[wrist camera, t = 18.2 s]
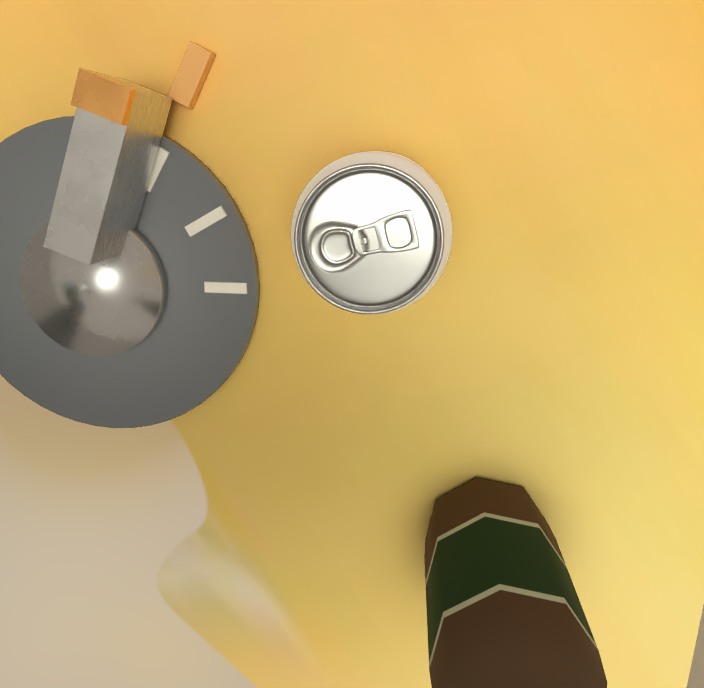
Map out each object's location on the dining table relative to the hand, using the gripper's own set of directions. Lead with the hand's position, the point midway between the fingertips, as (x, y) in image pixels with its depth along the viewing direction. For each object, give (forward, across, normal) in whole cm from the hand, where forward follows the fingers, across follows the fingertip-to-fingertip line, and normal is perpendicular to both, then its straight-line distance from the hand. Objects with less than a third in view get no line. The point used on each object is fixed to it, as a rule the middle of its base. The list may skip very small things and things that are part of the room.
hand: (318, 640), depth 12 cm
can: (+27, 0, +5) cm, 27 cm away
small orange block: (+27, -10, +12) cm, 31 cm away
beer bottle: (+27, +7, -14) cm, 31 cm away
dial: (+25, -15, +4) cm, 30 cm away
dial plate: (+27, -16, +1) cm, 31 cm away
